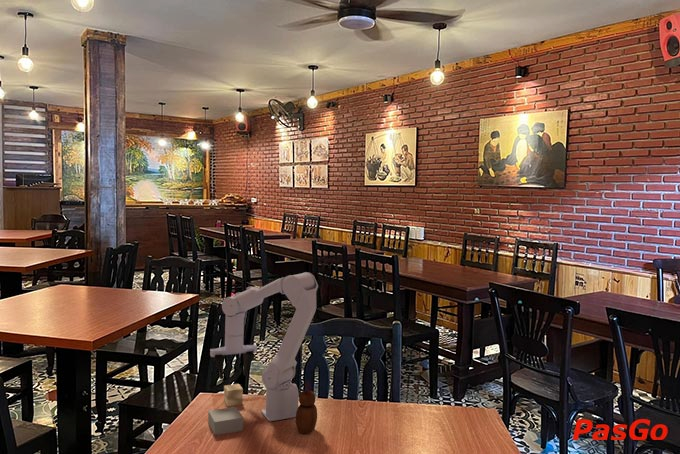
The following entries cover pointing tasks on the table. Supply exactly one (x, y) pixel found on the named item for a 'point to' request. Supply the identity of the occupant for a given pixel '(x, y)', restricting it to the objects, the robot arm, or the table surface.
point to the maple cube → (233, 395)
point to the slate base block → (225, 420)
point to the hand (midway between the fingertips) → (233, 376)
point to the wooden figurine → (306, 411)
